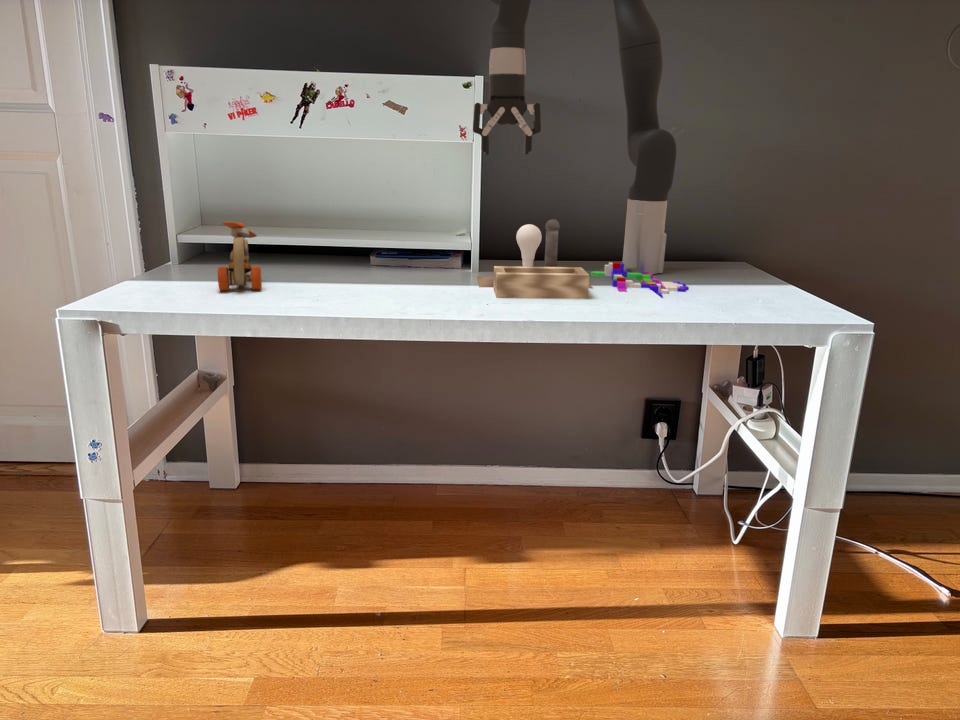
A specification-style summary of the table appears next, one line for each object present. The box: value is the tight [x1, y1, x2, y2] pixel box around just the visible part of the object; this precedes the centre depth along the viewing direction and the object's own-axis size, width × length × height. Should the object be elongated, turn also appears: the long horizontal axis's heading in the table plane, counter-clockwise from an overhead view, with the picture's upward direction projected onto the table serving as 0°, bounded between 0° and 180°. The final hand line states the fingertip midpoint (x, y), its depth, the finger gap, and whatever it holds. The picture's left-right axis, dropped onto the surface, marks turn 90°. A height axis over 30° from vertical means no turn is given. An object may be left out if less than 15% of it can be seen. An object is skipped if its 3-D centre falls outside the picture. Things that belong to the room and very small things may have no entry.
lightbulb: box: [515, 223, 543, 267], centre depth 169 cm, size 6×6×11 cm
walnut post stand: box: [476, 219, 595, 290], centre depth 150 cm, size 24×11×14 cm, turn 93°
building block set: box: [590, 261, 690, 299], centre depth 156 cm, size 25×20×4 cm
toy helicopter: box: [217, 221, 263, 292], centre depth 147 cm, size 8×21×14 cm, turn 15°
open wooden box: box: [492, 265, 590, 300], centre depth 140 cm, size 18×9×5 cm, turn 93°
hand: (506, 154), depth 150 cm, fingers open, 8 cm apart
